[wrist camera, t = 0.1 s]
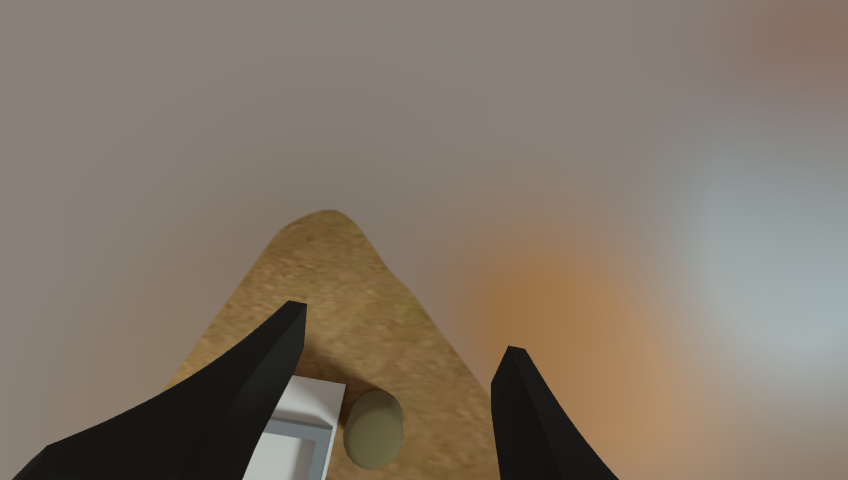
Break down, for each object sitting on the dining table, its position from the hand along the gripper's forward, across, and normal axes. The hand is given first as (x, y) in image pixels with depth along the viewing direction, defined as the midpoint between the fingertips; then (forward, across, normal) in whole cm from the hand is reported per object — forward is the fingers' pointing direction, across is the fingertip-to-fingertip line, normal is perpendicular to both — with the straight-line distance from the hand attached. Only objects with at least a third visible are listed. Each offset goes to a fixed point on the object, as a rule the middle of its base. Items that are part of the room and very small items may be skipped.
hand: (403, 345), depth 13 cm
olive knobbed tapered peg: (+16, 0, +28) cm, 33 cm away
